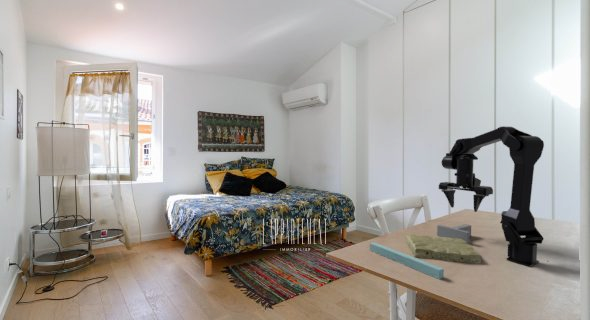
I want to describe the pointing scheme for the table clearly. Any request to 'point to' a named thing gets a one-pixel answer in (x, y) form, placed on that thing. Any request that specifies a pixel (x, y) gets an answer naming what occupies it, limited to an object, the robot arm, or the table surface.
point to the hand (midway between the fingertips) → (463, 209)
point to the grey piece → (455, 232)
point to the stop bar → (408, 260)
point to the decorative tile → (442, 248)
